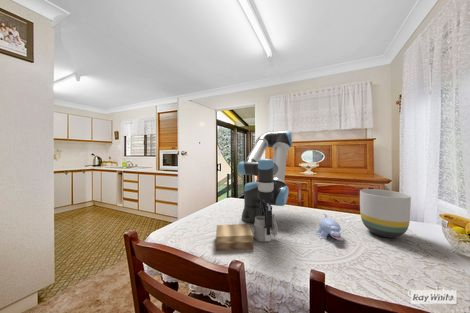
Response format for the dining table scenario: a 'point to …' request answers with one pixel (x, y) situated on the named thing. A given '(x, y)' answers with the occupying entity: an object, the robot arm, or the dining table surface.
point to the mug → (260, 230)
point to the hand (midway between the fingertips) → (265, 236)
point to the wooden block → (234, 237)
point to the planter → (385, 212)
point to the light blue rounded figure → (329, 229)
